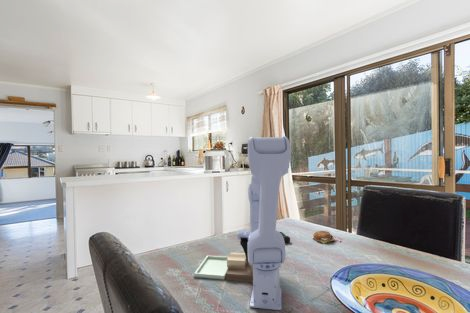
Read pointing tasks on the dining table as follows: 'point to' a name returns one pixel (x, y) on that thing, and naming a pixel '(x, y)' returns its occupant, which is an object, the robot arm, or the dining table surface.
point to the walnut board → (240, 273)
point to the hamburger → (324, 237)
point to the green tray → (212, 268)
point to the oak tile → (237, 260)
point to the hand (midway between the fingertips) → (259, 261)
